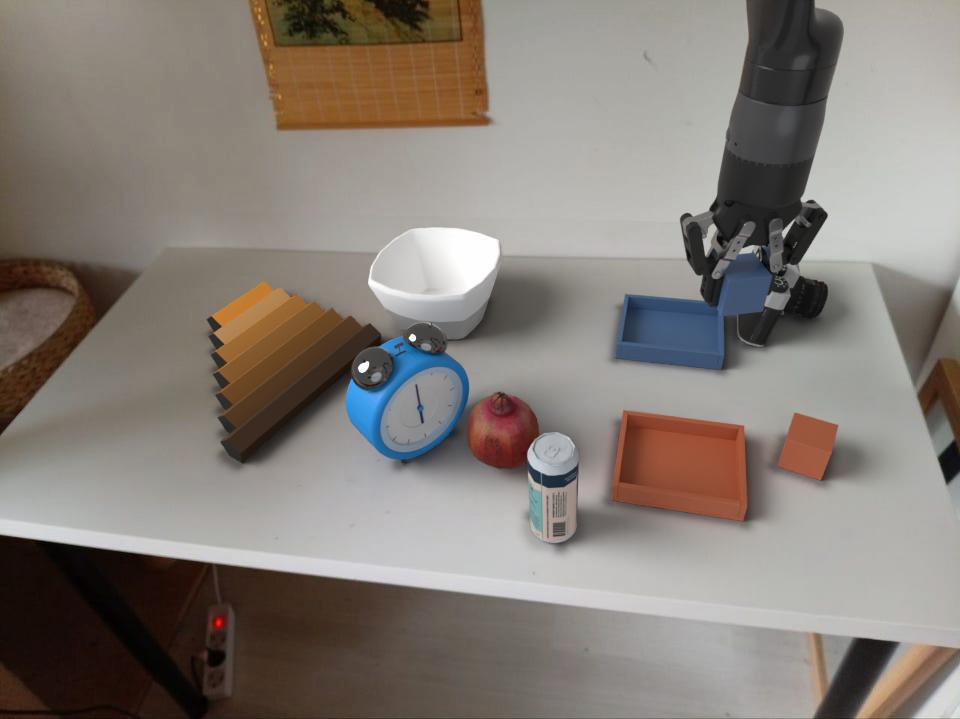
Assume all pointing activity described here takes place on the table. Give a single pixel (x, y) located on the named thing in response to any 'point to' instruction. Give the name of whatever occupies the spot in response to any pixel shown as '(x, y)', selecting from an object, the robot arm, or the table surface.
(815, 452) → the terracotta block
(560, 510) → the beer can
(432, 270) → the bowl
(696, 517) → the table surface
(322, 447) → the table surface
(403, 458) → the alarm clock
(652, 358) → the blue tray
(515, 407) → the fruit
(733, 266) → the blue block
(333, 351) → the pan flute
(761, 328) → the camera
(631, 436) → the terracotta tray
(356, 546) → the table surface
